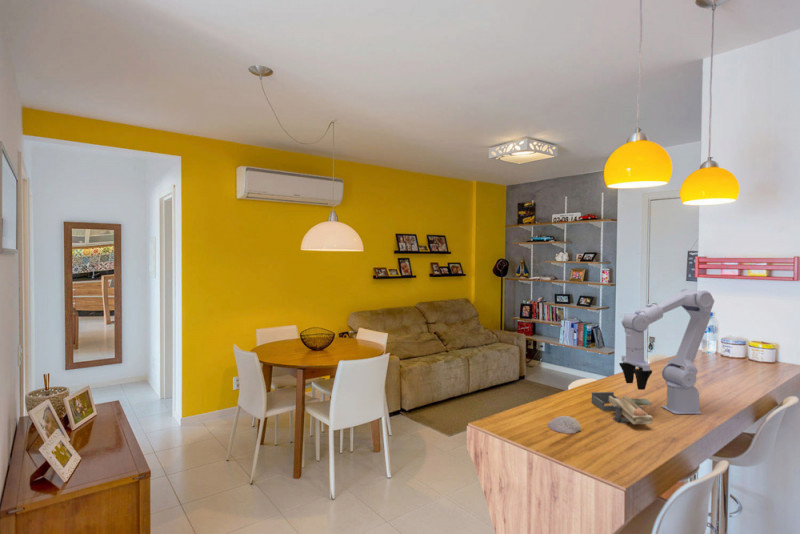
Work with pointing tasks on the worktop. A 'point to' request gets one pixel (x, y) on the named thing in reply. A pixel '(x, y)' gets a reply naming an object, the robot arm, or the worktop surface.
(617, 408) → the pivot stand
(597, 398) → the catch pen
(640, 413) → the ball
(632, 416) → the lever
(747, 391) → the worktop surface
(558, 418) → the seashell
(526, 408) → the worktop surface
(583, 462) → the worktop surface
